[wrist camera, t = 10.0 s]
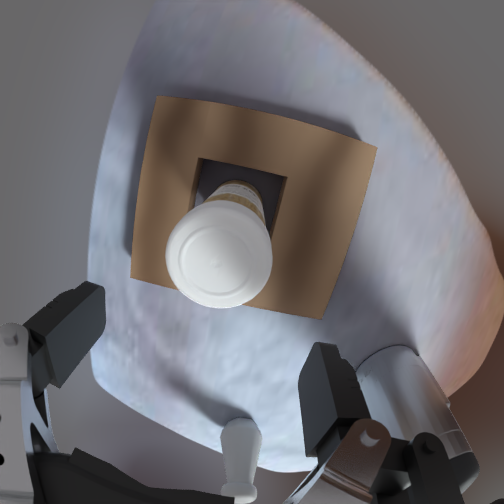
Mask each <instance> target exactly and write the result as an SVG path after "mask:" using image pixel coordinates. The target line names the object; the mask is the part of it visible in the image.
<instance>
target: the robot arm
mask: <svg viewBox="0 0 504 504" xmlns="http://www.w3.org/2000/svg"><path fill="white" fill-rule="evenodd" d="M105 324H106V310H105V289H104V287H103V286H100V285H97V284H94V283H91V282H88V281H85V282H84V283H82V284H81V285H79V286H78V287H77V288H76V289H71V290H68V291H65V292H63V293H61V294H59V295H58V296H57V297H56V298H54V299H53V301H51V302H50V303H48V304H47V305H46V307H43V308H42V309H41V310H40V311H38V312H37V313H36V314H35V315H34V316H32V317H31V318H30V319H29V320H28V321H27V322H25V323H24V324H23V325H21V324H17V323H6V324H3V325H1V326H0V504H234V502H235V497H229V496H222V495H216V494H210V493H205V492H200V491H195V490H177V489H160V488H151V487H147V486H145V485H143V484H141V483H139V482H138V481H136V480H135V479H133V478H131V477H129V476H128V475H126V474H125V473H123V472H122V471H120V470H119V469H117V468H116V467H114V466H113V465H111V464H110V463H107V462H105V461H102V460H100V459H98V458H96V457H94V456H92V455H90V454H88V453H86V452H84V451H81V450H79V449H78V448H75V449H74V451H73V453H72V455H70V454H65V453H59V450H58V447H57V444H56V442H55V440H54V436H53V433H52V428H51V421H50V414H49V406H48V398H47V391H46V387H47V385H48V384H49V383H51V384H52V385H54V386H56V387H58V388H61V386H62V385H63V384H64V382H65V381H66V380H67V378H68V377H69V376H70V374H71V373H72V372H73V370H74V369H75V368H76V366H77V365H78V364H79V363H80V361H81V360H82V359H83V358H84V356H85V355H86V354H87V353H88V351H89V350H90V349H91V347H92V346H93V345H94V344H95V343H96V341H97V340H98V339H99V338H100V336H101V335H102V333H103V331H104V329H105ZM298 391H299V399H300V407H301V416H302V425H303V434H304V443H305V453H306V457H317V458H318V464H317V465H316V466H315V467H314V469H313V470H312V471H311V472H310V473H309V475H308V476H307V477H306V478H305V480H304V481H303V482H302V483H301V484H300V485H299V486H298V488H297V489H296V490H295V491H294V492H293V493H292V494H291V495H290V497H289V498H288V499H287V500H286V501H285V502H284V503H283V504H464V501H463V498H462V493H463V492H464V491H465V490H466V489H467V488H468V487H469V486H470V485H471V484H472V482H473V481H474V480H475V479H476V478H477V476H478V474H479V470H480V469H479V464H478V461H477V459H476V457H475V455H474V453H473V451H472V449H471V448H470V446H469V444H468V442H467V440H466V438H465V436H464V434H463V432H462V431H461V429H460V427H459V425H458V423H457V422H456V420H455V418H454V416H453V415H452V413H451V411H450V409H449V407H450V402H449V400H448V399H447V397H446V395H445V394H444V392H443V390H442V389H441V387H440V386H439V384H438V382H437V381H436V379H435V378H434V376H433V375H432V373H431V372H430V370H429V369H428V367H427V365H426V364H425V362H424V361H423V359H422V358H421V357H420V356H416V355H415V353H414V352H413V350H412V349H410V348H409V347H406V346H400V345H399V346H392V347H388V348H385V349H383V350H380V351H378V352H377V353H375V354H373V355H372V356H370V357H369V358H368V359H367V360H365V361H364V362H363V363H362V364H361V365H360V367H359V368H358V369H357V371H356V373H355V370H354V368H353V367H352V366H351V365H350V364H349V363H348V361H347V360H346V359H341V357H340V354H339V351H338V348H337V346H336V345H334V344H327V343H321V342H315V343H314V345H313V347H312V349H311V351H310V353H309V355H308V357H307V360H306V362H305V364H304V366H303V368H302V370H301V372H300V375H299V380H298ZM490 504H504V499H498V500H495V501H494V502H492V503H490Z"/></svg>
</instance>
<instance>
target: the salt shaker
mask: <svg viewBox="0 0 504 504" xmlns="http://www.w3.org/2000/svg"><path fill="white" fill-rule="evenodd" d="M220 438H221V445H222V452H223V458H224V465H225V470H226V477H227V482H228V483H227V484H224V485H223V487H222V489H221V495H222V496H229V497H235V502H234V503H237V504H245V503H250V502H252V501H254V500H255V499H256V497H257V490H256V487H255V486H254V485H252V484H253V479H254V475H255V471H256V466H257V462H258V457H259V452H260V448H261V443H262V434H261V432H260V430H259V429H258V427H257V425H256V424H255V423H254V422H253V421H252V419H247V418H240V417H238V418H235V419H233V420H230V421H229V422H228V423H227V424H226V426H225V427H224V428H223V430H222V433H221V436H220Z"/></svg>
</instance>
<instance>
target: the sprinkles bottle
mask: <svg viewBox="0 0 504 504" xmlns="http://www.w3.org/2000/svg"><path fill="white" fill-rule="evenodd" d="M165 258H166V265H167V269H168V272H169V275H170V277H171V279H172V281H173V282H174V284H175V285H176V287H177V288H178V289H179V290H180V291H181V292H182V293H183V294H184V295H185V296H186V297H188V298H189V299H191V300H192V301H194V302H196V303H198V304H201V305H203V306H207V307H211V308H231V307H235V306H239V305H241V304H244V303H246V302H248V301H249V300H251V299H253V298H254V297H255V296H256V295H257V294H258V293H259V292H260V291H261V290H262V289H263V287H264V286H265V284H266V283H267V281H268V278H269V276H270V273H271V268H272V248H271V241H270V237H269V234H268V231H267V229H266V225H265V218H264V212H263V204H262V198H261V195H260V193H259V192H258V190H257V189H256V188H255V187H254V186H252V185H251V184H249V183H247V182H245V181H242V180H232V181H227V182H225V183H223V184H221V185H220V186H219V187H218V188H217V189H216V190H215V192H214V193H213V194H212V195H211V196H209V197H208V198H207V199H206V200H205V201H204V202H203V203H202V204H201V205H199V206H196V207H195V208H193V209H192V210H191V211H189V212H188V213H187V214H186V215H185V216H184V217H183V218H182V219H181V220H180V221H179V222H178V224H177V225H176V226H175V227H174V229H173V230H172V232H171V234H170V236H169V239H168V242H167V245H166V253H165Z"/></svg>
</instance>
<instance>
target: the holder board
mask: <svg viewBox="0 0 504 504" xmlns="http://www.w3.org/2000/svg"><path fill="white" fill-rule="evenodd" d="M376 152H377V147H375V146H373V145H370V144H368V143H365V142H362V141H360V140H357V139H354V138H351V137H349V136H346V135H343V134H340V133H337V132H334V131H331V130H328V129H325V128H321V127H318V126H315V125H311V124H308V123H305V122H301V121H298V120H294V119H290V118H286V117H282V116H278V115H274V114H270V113H266V112H262V111H257V110H252V109H248V108H243V107H238V106H232V105H227V104H221V103H215V102H209V101H202V100H195V99H187V98H178V97H168V96H157V98H156V102H155V106H154V110H153V114H152V118H151V123H150V127H149V132H148V137H147V142H146V147H145V152H144V158H143V163H142V169H141V175H140V182H139V189H138V196H137V204H136V212H135V221H134V231H133V243H132V257H131V276H130V278H134V279H137V280H141V281H145V282H149V283H152V284H156V285H160V286H164V287H168V288H172V289H176V290H179V289H178V288H177V287H176V285H175V284H174V282H173V281H172V279H171V277H170V275H169V272H168V269H167V265H166V258H165V253H166V245H167V242H168V239H169V236H170V234H171V232H172V230H173V229H174V227H175V226H176V225H177V224H178V222H179V221H180V220H181V219H182V218H183V217H184V216H185V215H186V214H187V213H188V212H189V211H191V210H192V209H193V208H194V204H195V199H196V194H197V189H198V184H199V179H200V174H201V169H202V164H203V160H204V158H205V159H210V160H215V161H220V162H225V163H230V164H234V165H239V166H244V167H248V168H253V169H257V170H261V171H265V172H269V173H274V174H278V175H282V176H284V179H283V183H282V186H281V190H280V194H279V198H278V202H277V206H276V210H275V214H274V218H273V221H272V225H271V229H270V233H269V237H270V241H271V248H272V268H271V273H270V276H269V278H268V281H267V283H266V284H265V286H264V287H263V289H262V290H261V291H260V292H259V293H258V294H257V295H256V296H255V297H254V298H253V299H251V300H249V301H248V302H246V303H244V304H241V305H246V306H251V307H256V308H261V309H266V310H271V311H276V312H281V313H286V314H292V315H297V316H303V317H309V318H314V319H320V320H321V319H322V317H323V314H324V312H325V310H326V307H327V305H328V302H329V300H330V297H331V294H332V292H333V289H334V287H335V284H336V281H337V279H338V276H339V273H340V270H341V268H342V265H343V262H344V259H345V256H346V254H347V251H348V248H349V245H350V242H351V239H352V236H353V233H354V230H355V226H356V223H357V220H358V217H359V214H360V210H361V207H362V204H363V200H364V197H365V193H366V190H367V186H368V183H369V179H370V175H371V171H372V168H373V164H374V160H375V156H376Z"/></svg>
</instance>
